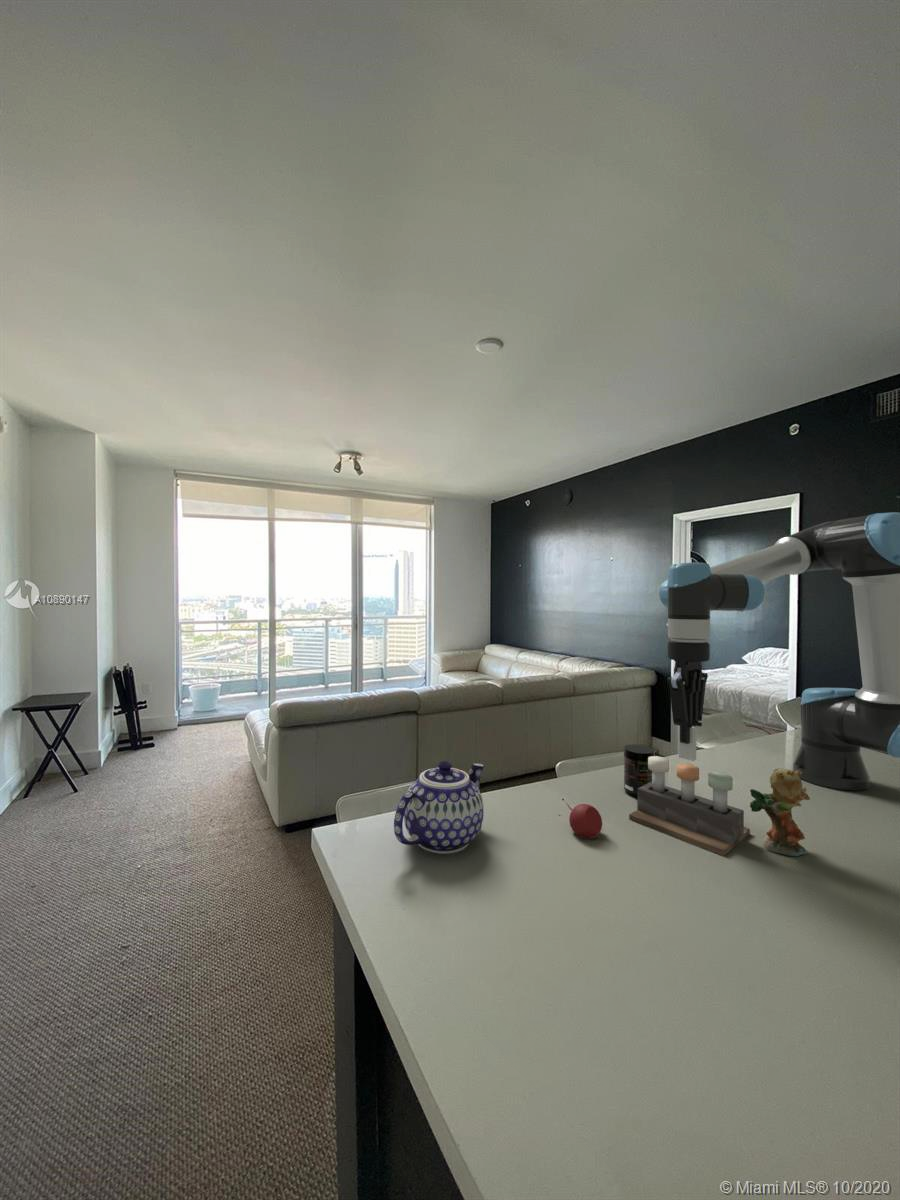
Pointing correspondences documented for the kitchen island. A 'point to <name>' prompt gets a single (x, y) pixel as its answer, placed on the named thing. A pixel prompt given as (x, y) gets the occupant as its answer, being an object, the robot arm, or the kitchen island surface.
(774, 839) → the figurine
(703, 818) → the button board
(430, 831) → the teapot
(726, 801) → the sage button
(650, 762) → the cream button
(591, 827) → the fruit
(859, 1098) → the kitchen island surface
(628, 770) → the supplement container
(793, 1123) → the kitchen island surface
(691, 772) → the orange capped peg
